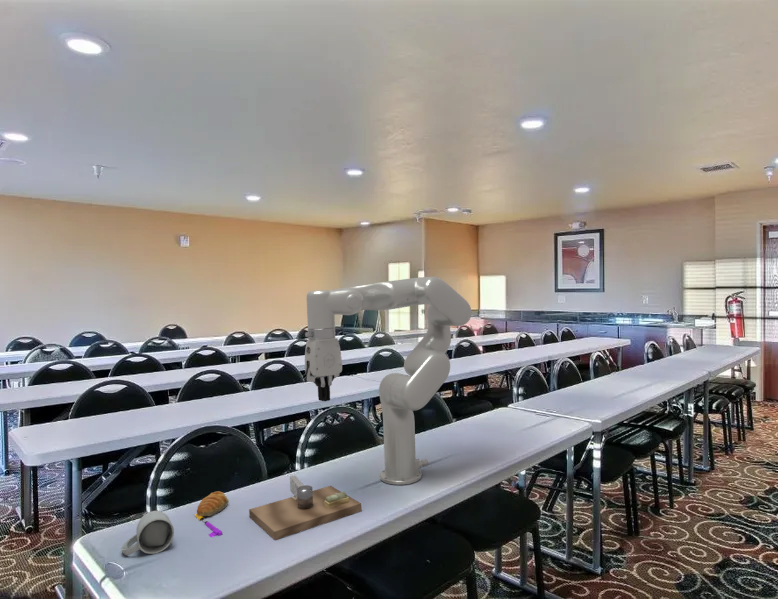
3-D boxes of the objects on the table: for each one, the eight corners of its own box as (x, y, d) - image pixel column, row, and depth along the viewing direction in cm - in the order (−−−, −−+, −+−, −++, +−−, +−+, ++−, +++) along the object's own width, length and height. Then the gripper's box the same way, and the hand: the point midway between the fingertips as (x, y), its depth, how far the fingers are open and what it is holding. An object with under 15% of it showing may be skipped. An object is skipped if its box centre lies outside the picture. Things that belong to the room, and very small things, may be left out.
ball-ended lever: (315, 506, 132) (314, 489, 132) (300, 509, 131) (299, 492, 131) (300, 488, 145) (299, 473, 144) (286, 491, 143) (285, 476, 143)
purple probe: (223, 534, 124) (198, 515, 136) (222, 530, 124) (196, 511, 136) (213, 541, 122) (188, 520, 134) (211, 536, 122) (187, 516, 134)
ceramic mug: (170, 534, 125) (168, 503, 125) (175, 548, 118) (173, 515, 118) (120, 548, 119) (118, 515, 119) (123, 563, 112) (120, 528, 112)
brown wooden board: (330, 492, 147) (330, 475, 147) (361, 510, 134) (360, 492, 134) (249, 517, 133) (248, 498, 133) (274, 540, 120) (273, 519, 120)
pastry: (214, 519, 133) (213, 504, 132) (189, 518, 133) (189, 504, 133) (230, 504, 142) (229, 490, 142) (207, 503, 143) (206, 490, 143)
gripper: (308, 337, 135) (311, 407, 136) (350, 332, 146) (353, 397, 146) (291, 336, 140) (294, 403, 141) (333, 331, 151) (336, 394, 152)
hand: (324, 400), depth 144 cm, fingers closed
